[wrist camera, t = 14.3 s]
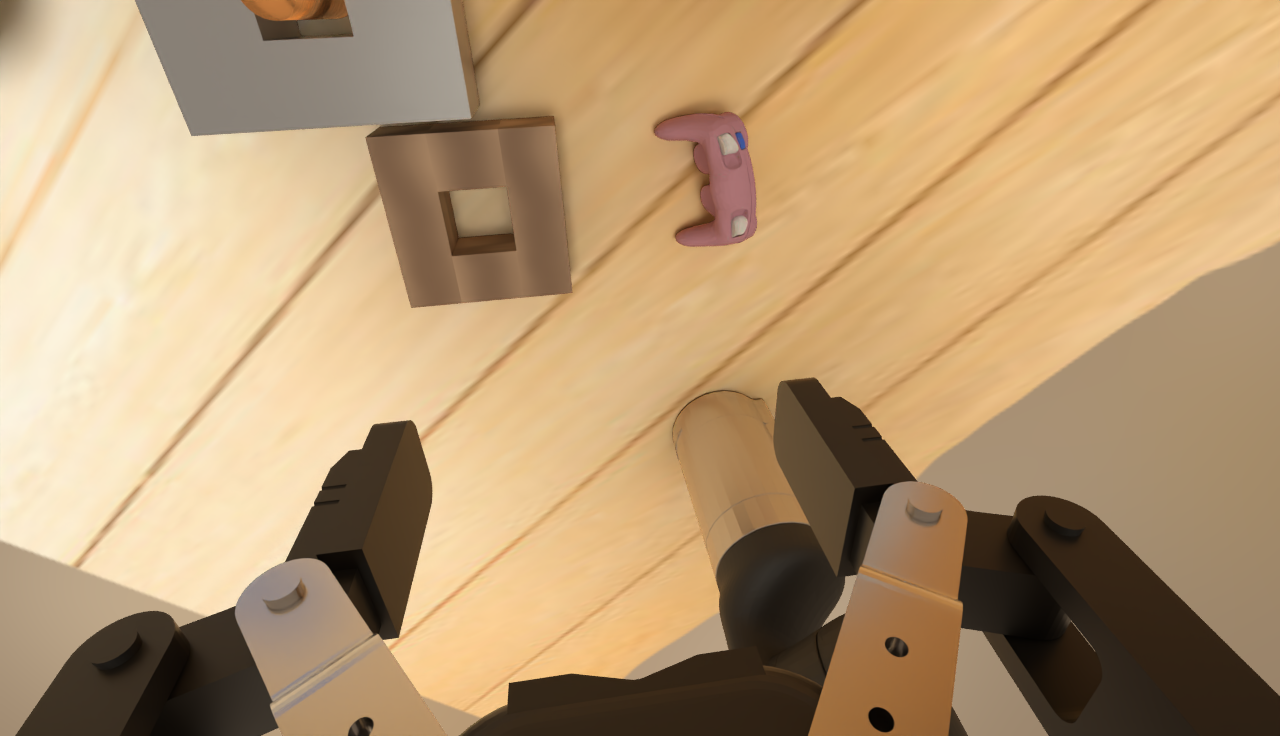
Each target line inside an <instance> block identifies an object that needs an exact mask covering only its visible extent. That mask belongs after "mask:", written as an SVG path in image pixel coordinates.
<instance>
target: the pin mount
mask: <svg viewBox="0 0 1280 736" xmlns="http://www.w3.org/2000/svg"><path fill="white" fill-rule="evenodd" d="M366 142H367V145H368V149H369V153H370V156H371V160H372V164H373V168H374V171H375V175H376V179H377V182H378V186H379V190H380V194H381V197H382V201H383V205H384V208H385V212H386V216H387V220H388V223H389V227H390V231H391V234H392V238H393V242H394V245H395V249H396V253H397V257H398V260H399V264H400V268H401V271H402V275H403V279H404V283H405V286H406V290H407V294H408V297H409V301H410V305H411V308H415V307H426V306H436V305H447V304H458V303H469V302H479V301H490V300H501V299H512V298H522V297H533V296H544V295H555V294H565V293H572V283H571V274H570V265H569V255H568V246H567V236H566V227H565V218H564V208H563V199H562V189H561V180H560V171H559V161H558V152H557V142H556V133H555V124H554V116H549V117H532V118H516V119H500V120H484V121H468V122H451V123H435V124H419V125H403V126H387V127H379V128H378V129H376V130H375V131H374V132H372V133H371V134H370V135H368V136H367V137H366ZM496 187H507V193H508V199H509V205H510V212H511V218H512V225H513V231H514V233H513V234H501V235H489V236H476V237H464V238H458V233H457V229H456V224H455V219H454V214H453V209H452V205H451V200H450V195H449V191H455V190H469V189H483V188H496Z"/></svg>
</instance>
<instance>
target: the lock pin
mask: <svg viewBox="0 0 1280 736" xmlns="http://www.w3.org/2000/svg"><path fill="white" fill-rule="evenodd" d="M241 1H242V3H243V4H244V5H245V6H246V7H247V8H248V9H249V10H250V11H252V12H253V13H255V14H256V15H258V16H260V17H262V18H264V19H268V20H273V21H283V20H312V19H339V18H343V17H346V16H347V15H348V12H347V8H346V5H345V1H344V0H241Z"/></svg>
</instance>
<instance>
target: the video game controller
mask: <svg viewBox="0 0 1280 736" xmlns="http://www.w3.org/2000/svg"><path fill="white" fill-rule="evenodd" d="M654 133H655V135H656V136H657V137H659V138H661V139H664V140H687V141H692V142H698V143H699V144H698V145H697V146H696V147H695V148H694V160H695V163H696V165H697V167H698V169H699V170H700V171H701V172H702V173H705V174H709V182H710V184H708V185H706V186H704V187H703V188H702V190H701V201H702V204H703V206H704V208H705V209H706V210H707V211H708V212H709V213H711V214H712V215H713V216H714V217H715V219H714V221H712V222H710V223H707V224H702V225H697V226H693V227H690V228H686V229H684V230H682V231H680V232H679V233H678V234H677V235H676V240H677V242H678V243H680V244H682V245H685V246H722V245H730V244H734V243H740V242H742V241H744V240H746V239H748V238H750V237H751V236H753V234H754V233H755V231H756V228H757V219H756V215H755V214H756V188H755V179H754V173H753V168H752V163H751V159H750V156H749V152H748V149H747V147H748V135H747V131H746V128H745V126H744V124H743V122H742V121H741V119H740V118H739V117H738V116H737V115H735V114H734V113H731V112H725V113H722V114H719V115H717V114H691V115H684V116H680V117H675V118H672V119H668V120H665V121H663V122H661V123H660V124H659V125H658V126H657V127H656V128H655V130H654Z"/></svg>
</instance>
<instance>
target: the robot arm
mask: <svg viewBox="0 0 1280 736" xmlns="http://www.w3.org/2000/svg"><path fill="white" fill-rule="evenodd" d="M673 441H674V445H675V449H676V453H677V456H678V459H679V461H680V465H681V468H682V471H683V475H684V478H685V481H686V484H687V488H688V491H689V494H690V497H691V501H692V504H693V507H694V510H695V513H696V517H697V520H698V523H699V526H700V530H701V533H702V536H703V539H704V543H705V546H706V549H707V552H708V555H709V559H710V562H711V565H712V568H713V572H714V575H715V578H716V581H717V585H718V588H719V592H720V599H719V610H720V617H721V621H722V626H723V629H724V632H725V637H726V640H727V645H728V649H729V650H726V651H720V652H713V653H706V654H699V655H696V656H693V657H691V658H689V659H686V660H684V661H682V662H679V663H677V664H675V665H672V666H670V667H668V668H665V669H663V670H661V671H658V672H656V673H654V674H651V675H649V676H647V677H644V678H642V679H637V680H626V679H618V678H608V677H599V676H589V675H579V674H566V675H559V676H553V677H546V678H540V679H533V680H526V681H520V682H513V683H509V691H508V705H505V706H503V707H501V708H499V709H497V710H495V711H493V712H491V713H489V714H488V715H486V716H484V717H483V718H481V719H480V720H478V721H477V722H476V723H474V724H473V725H471V726H470V727H469V728H468V729H466V730H465V731H464V732H463V733H462V734H461V735H459V736H968V735H967V733H966V731H965V729H964V728H963V726H962V724H961V722H960V720H959V718H958V716H957V714H956V713H955V711H954V709H953V707H952V698H953V690H954V682H955V673H956V664H957V656H958V647H959V638H960V630H961V628H965V629H972V630H978V631H983V633H984V635H985V636H986V638H987V639H988V641H989V643H990V644H991V646H992V647H993V649H994V650H995V652H996V654H997V655H998V657H999V658H1000V660H1001V661H1002V663H1003V665H1004V666H1005V668H1006V669H1007V671H1008V672H1009V674H1010V676H1011V677H1012V679H1013V680H1014V682H1015V683H1016V685H1017V687H1018V688H1019V690H1020V691H1021V692H1022V694H1023V696H1024V697H1025V699H1026V701H1027V702H1028V704H1029V705H1030V707H1031V709H1032V710H1033V712H1034V713H1035V715H1036V716H1037V718H1038V720H1039V721H1040V723H1041V724H1042V726H1043V727H1044V729H1045V731H1046V732H1047V734H1048V735H1049V736H1280V696H1279V695H1278V694H1277V693H1276V692H1275V691H1274V690H1273V689H1272V688H1271V687H1270V686H1269V685H1268V684H1267V683H1266V682H1265V681H1264V680H1263V679H1262V678H1261V677H1260V676H1259V675H1258V674H1257V673H1256V672H1255V671H1253V669H1252V668H1250V666H1249V665H1247V664H1246V663H1245V662H1244V661H1243V660H1242V659H1241V658H1240V657H1239V656H1238V655H1237V654H1236V653H1235V652H1234V651H1233V650H1232V649H1231V648H1230V647H1229V646H1228V645H1227V644H1226V643H1225V642H1224V641H1223V640H1222V639H1221V638H1220V637H1219V636H1218V635H1217V634H1216V633H1215V632H1214V631H1213V630H1212V629H1211V628H1210V627H1209V626H1208V625H1207V624H1206V623H1205V622H1204V621H1203V620H1202V619H1201V618H1200V617H1199V616H1198V615H1197V614H1196V613H1195V612H1194V611H1193V610H1191V608H1190V607H1189V606H1188V605H1187V604H1186V603H1185V602H1184V601H1183V600H1182V599H1181V598H1179V597H1178V595H1176V594H1175V593H1174V592H1173V591H1172V590H1171V589H1170V588H1169V587H1168V586H1167V585H1166V584H1165V583H1164V582H1163V581H1162V580H1161V579H1160V578H1159V577H1158V576H1157V575H1156V574H1155V573H1154V572H1153V571H1152V570H1151V569H1150V568H1149V567H1148V566H1147V565H1146V564H1145V563H1144V562H1143V561H1142V560H1141V559H1140V558H1139V557H1138V556H1137V555H1136V554H1135V553H1134V552H1133V551H1132V550H1131V549H1130V548H1129V547H1128V546H1127V545H1126V544H1125V543H1124V542H1123V541H1122V540H1121V539H1120V538H1119V537H1118V536H1117V535H1115V533H1114V532H1113V531H1111V529H1109V527H1108V526H1107V525H1106V524H1105V523H1104V522H1102V521H1101V520H1100V519H1099V518H1098V517H1097V516H1096V515H1094V514H1093V513H1091V512H1090V511H1088V510H1087V509H1085V508H1083V507H1081V506H1079V505H1077V504H1075V503H1072V502H1070V501H1067V500H1064V499H1060V498H1056V497H1051V496H1032V497H1028V498H1025V499H1023V500H1022V501H1021V502H1019V504H1018V505H1017V507H1016V510H1015V513H1014V516H1007V515H999V514H990V513H981V512H974V511H967V510H965V509H964V507H963V506H962V504H961V503H960V502H959V501H958V500H957V499H956V498H955V497H954V496H952V495H951V494H950V493H948V492H946V491H944V490H943V489H941V488H938V487H936V486H933V485H930V484H926V483H922V482H918V481H917V480H916V479H915V478H914V476H913V475H912V474H911V473H910V471H909V470H908V469H907V468H906V466H905V465H904V464H903V463H902V461H901V460H900V459H899V458H898V456H897V455H896V454H895V453H894V451H893V450H892V449H891V448H890V446H889V445H888V444H887V443H886V441H885V440H882V436H881V435H880V434H879V432H878V431H877V430H876V429H875V427H872V424H871V422H870V421H869V420H868V419H867V417H866V416H865V415H864V414H863V412H862V411H861V410H860V409H859V408H857V407H856V406H854V405H853V404H851V403H849V402H848V401H846V400H845V399H843V398H842V397H834V398H831V397H830V396H829V395H828V393H827V392H826V391H825V389H824V388H823V387H822V385H821V384H820V383H819V381H818V380H817V379H816V378H805V379H796V380H787V381H781V382H780V384H779V386H778V393H777V403H776V413H775V420H774V418H773V416H772V414H771V413H770V411H769V409H768V407H767V405H766V404H765V402H764V400H763V399H758V400H752V399H750V398H748V397H746V396H745V395H743V394H740V393H736V392H730V391H721V392H713V393H710V394H706V395H704V396H702V397H699V398H697V399H695V400H694V401H693V402H691V403H690V404H688V405H687V406H686V407H685V408H684V409H683V410H682V411H681V413H680V414H679V416H678V417H677V419H676V421H675V424H674V427H673ZM431 504H432V481H431V476H430V472H429V469H428V465H427V462H426V459H425V455H424V452H423V449H422V445H421V442H420V439H419V435H418V432H417V429H416V426H415V424H414V423H413V421H411V420H409V421H399V422H390V423H381V424H374V425H373V426H372V428H371V430H370V432H369V434H368V437H367V439H366V441H365V443H364V446H363V448H362V449H360V450H351V451H348V452H347V453H346V454H345V455H344V456H343V457H342V458H341V459H340V460H339V461H338V462H337V463H336V464H335V465H334V466H333V467H332V468H331V469H330V471H329V473H328V475H327V477H326V479H325V481H324V483H323V485H322V491H320V492H319V494H318V496H317V498H316V500H315V502H314V507H312V508H311V510H310V512H309V514H308V516H307V518H306V520H305V522H304V524H303V526H302V528H301V530H300V532H299V534H298V536H297V539H296V541H295V543H294V545H293V547H292V549H291V551H290V553H289V555H288V557H287V559H286V561H285V562H284V563H282V564H279V565H277V566H275V567H273V568H271V569H269V570H268V571H266V572H264V573H263V574H261V575H260V576H259V577H257V578H256V579H255V580H254V581H253V582H252V583H251V584H249V586H248V587H247V588H246V589H245V590H244V591H243V593H242V594H241V596H240V598H239V600H238V602H237V604H236V606H234V607H232V608H229V609H227V610H224V611H222V612H219V613H216V614H214V615H211V616H208V617H206V618H203V619H200V620H197V621H195V622H192V623H189V624H187V625H184V626H181V627H178V625H177V624H176V623H175V621H174V620H173V618H172V617H171V616H170V615H168V614H166V613H164V612H159V611H148V612H142V613H137V614H134V615H131V616H128V617H125V618H123V619H120V620H118V621H116V622H114V623H112V624H110V625H108V626H107V627H105V628H103V629H102V630H100V631H99V632H97V633H96V634H94V635H93V636H92V637H90V638H89V639H88V640H86V641H85V642H84V643H83V644H82V645H81V646H80V647H79V648H78V649H77V650H76V651H75V652H74V653H73V654H72V655H71V657H70V658H69V659H68V660H67V662H66V663H65V664H64V666H63V667H62V669H61V670H60V672H59V673H58V675H57V676H56V678H55V679H54V681H53V682H52V683H51V685H50V686H49V688H48V689H47V691H46V692H45V693H44V695H43V697H42V698H41V699H40V701H39V702H38V704H37V705H36V706H35V708H34V709H33V711H32V712H31V714H30V715H29V717H28V718H27V720H26V721H25V723H24V724H23V726H22V727H21V728H20V730H19V731H18V733H17V734H16V736H261V735H263V734H265V733H268V732H270V731H272V730H274V729H277V728H279V729H280V732H281V734H282V736H447V734H446V733H445V731H444V730H443V728H442V727H441V725H440V724H439V722H438V721H437V719H436V718H435V717H434V715H433V713H432V712H431V711H430V709H429V708H428V706H427V705H426V703H425V702H424V700H423V699H422V697H421V696H420V694H419V693H418V691H417V690H416V688H415V687H414V685H413V684H412V683H411V681H410V680H409V678H408V677H407V675H406V674H405V672H404V671H403V669H402V668H401V666H400V665H399V663H398V662H397V660H396V659H395V657H394V656H393V655H392V653H391V652H390V650H389V649H388V647H387V646H386V644H385V643H384V641H383V640H386V639H393V638H399V634H400V630H401V626H402V622H403V618H404V614H405V610H406V606H407V602H408V598H409V594H410V590H411V585H412V581H413V577H414V573H415V569H416V565H417V561H418V557H419V553H420V549H421V545H422V541H423V537H424V533H425V528H426V524H427V520H428V516H429V512H430V508H431ZM851 575H857V578H856V581H855V584H854V587H853V591H852V594H851V597H850V601H849V604H848V607H847V610H846V613H845V614H843V615H841V616H839V617H837V618H836V619H834V620H832V621H830V622H829V623H827V624H826V625H824V626H823V627H822V625H823V624H824V622H825V620H826V619H827V618H828V616H829V614H830V613H831V612H832V610H833V609H834V607H835V606H836V604H837V602H838V601H839V599H840V597H841V595H842V592H843V589H844V585H845V576H851ZM1071 620H1072V622H1073V623H1074V624H1075V625H1076V627H1077V628H1078V629H1079V631H1080V632H1081V633H1082V634H1083V636H1084V637H1085V638H1086V639H1087V641H1088V642H1089V643H1090V644H1091V646H1092V647H1093V648H1094V650H1095V651H1094V650H1093V648H1092V647H1091V646H1090V645H1089V643H1088V642H1087V641H1086V640H1085V638H1084V637H1083V636H1082V635H1081V633H1080V632H1079V631H1078V630H1077V628H1076V627H1075V626H1074V624H1073V623H1072V622H1071Z"/></svg>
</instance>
